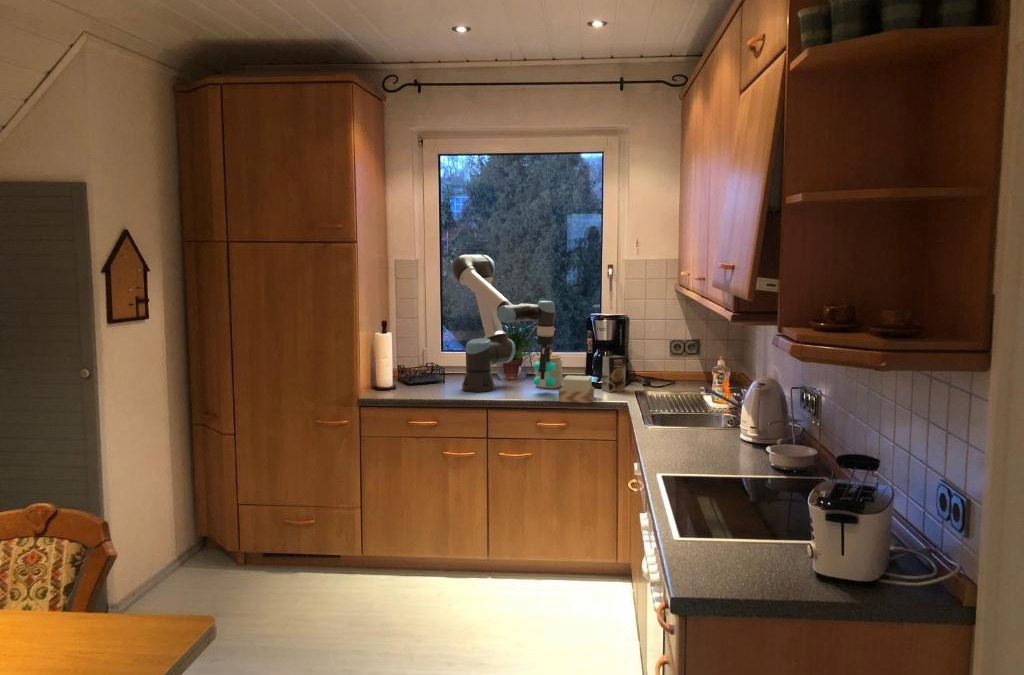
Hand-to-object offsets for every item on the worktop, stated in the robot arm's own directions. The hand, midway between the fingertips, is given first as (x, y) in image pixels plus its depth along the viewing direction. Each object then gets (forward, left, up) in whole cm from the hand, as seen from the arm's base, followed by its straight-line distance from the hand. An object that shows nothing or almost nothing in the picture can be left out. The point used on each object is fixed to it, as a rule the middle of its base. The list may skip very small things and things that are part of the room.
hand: (544, 384), depth 350 cm
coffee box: (+30, +14, -5) cm, 34 cm away
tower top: (+16, -10, 0) cm, 19 cm away
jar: (-1, +19, -5) cm, 19 cm away
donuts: (0, 0, -1) cm, 1 cm away
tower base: (+16, -10, -5) cm, 19 cm away
